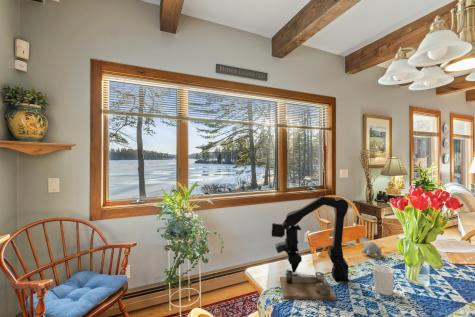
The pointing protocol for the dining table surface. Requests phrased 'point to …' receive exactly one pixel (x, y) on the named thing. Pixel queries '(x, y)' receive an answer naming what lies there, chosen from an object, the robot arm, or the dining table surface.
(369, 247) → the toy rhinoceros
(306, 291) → the base
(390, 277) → the white cup
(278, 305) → the dining table surface
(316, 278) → the lever
